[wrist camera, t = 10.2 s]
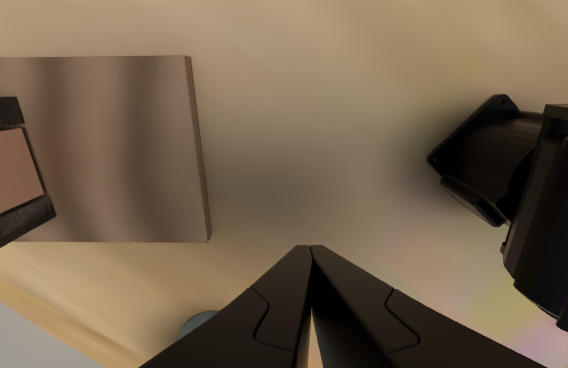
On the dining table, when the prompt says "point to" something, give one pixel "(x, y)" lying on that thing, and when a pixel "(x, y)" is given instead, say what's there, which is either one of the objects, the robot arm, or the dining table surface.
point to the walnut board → (113, 146)
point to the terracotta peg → (16, 170)
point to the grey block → (32, 212)
